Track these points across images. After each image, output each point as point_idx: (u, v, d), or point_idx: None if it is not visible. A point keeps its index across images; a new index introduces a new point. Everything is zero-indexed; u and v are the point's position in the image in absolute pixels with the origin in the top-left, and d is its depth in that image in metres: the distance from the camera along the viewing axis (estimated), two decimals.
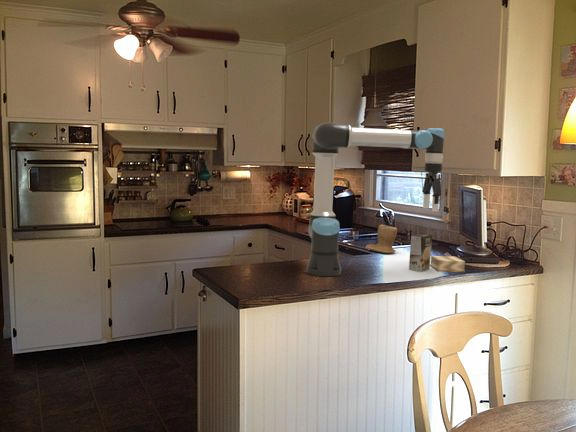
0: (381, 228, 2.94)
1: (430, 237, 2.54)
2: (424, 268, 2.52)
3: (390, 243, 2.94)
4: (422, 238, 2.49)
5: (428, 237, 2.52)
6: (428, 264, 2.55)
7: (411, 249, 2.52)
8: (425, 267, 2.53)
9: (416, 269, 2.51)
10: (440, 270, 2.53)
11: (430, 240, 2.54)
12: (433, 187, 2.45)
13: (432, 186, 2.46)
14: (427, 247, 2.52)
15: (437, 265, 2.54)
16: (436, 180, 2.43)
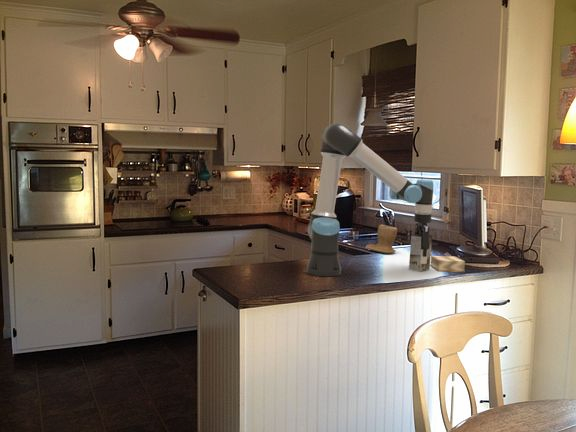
0: (381, 228, 2.94)
1: (430, 237, 2.54)
2: (424, 268, 2.52)
3: (390, 243, 2.94)
4: (422, 238, 2.49)
5: None
6: (428, 264, 2.55)
7: (411, 249, 2.52)
8: (425, 267, 2.53)
9: (416, 269, 2.51)
10: (440, 270, 2.53)
11: (430, 240, 2.54)
12: (422, 239, 2.49)
13: None
14: None
15: (437, 265, 2.54)
16: (425, 233, 2.46)
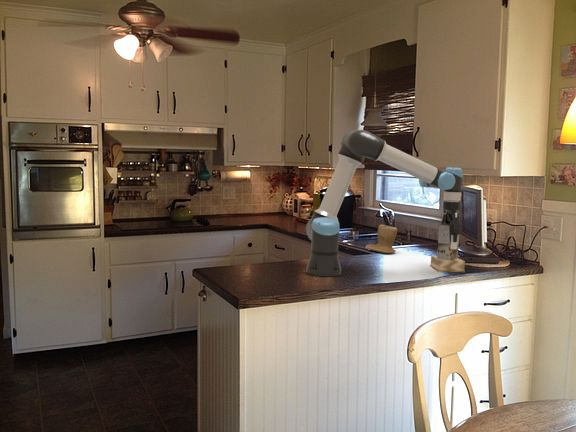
0: (381, 228, 2.94)
1: None
2: (452, 256, 2.56)
3: (390, 243, 2.94)
4: None
5: None
6: (456, 253, 2.59)
7: (439, 238, 2.56)
8: (453, 255, 2.56)
9: (444, 258, 2.55)
10: (440, 270, 2.53)
11: None
12: (452, 225, 2.51)
13: (451, 224, 2.52)
14: None
15: (437, 265, 2.54)
16: (455, 219, 2.49)
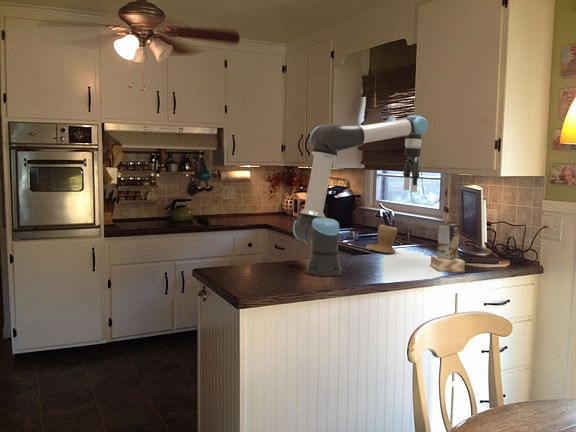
0: (381, 228, 2.94)
1: (458, 226, 2.57)
2: (452, 256, 2.56)
3: (390, 243, 2.94)
4: (450, 227, 2.52)
5: (456, 226, 2.56)
6: (456, 253, 2.59)
7: (439, 238, 2.56)
8: (453, 255, 2.56)
9: (444, 258, 2.55)
10: (440, 270, 2.53)
11: (458, 229, 2.58)
12: (412, 170, 2.65)
13: (411, 169, 2.66)
14: (455, 236, 2.56)
15: (437, 265, 2.54)
16: (414, 163, 2.63)
